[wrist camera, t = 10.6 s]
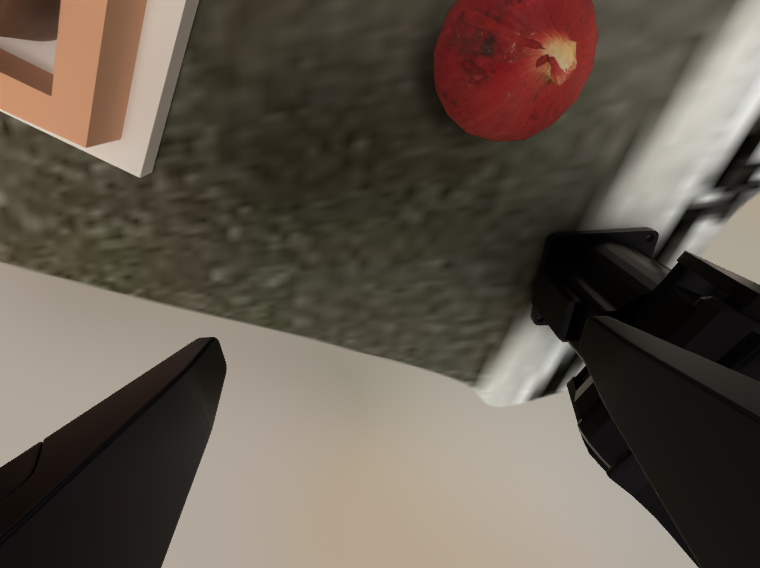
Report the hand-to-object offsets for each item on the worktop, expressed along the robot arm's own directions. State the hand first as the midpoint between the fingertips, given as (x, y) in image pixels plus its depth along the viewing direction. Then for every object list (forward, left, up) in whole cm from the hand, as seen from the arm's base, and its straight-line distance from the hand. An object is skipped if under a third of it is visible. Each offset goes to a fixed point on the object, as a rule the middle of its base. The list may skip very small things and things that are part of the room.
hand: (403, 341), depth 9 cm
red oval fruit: (-5, -6, -13) cm, 15 cm away
